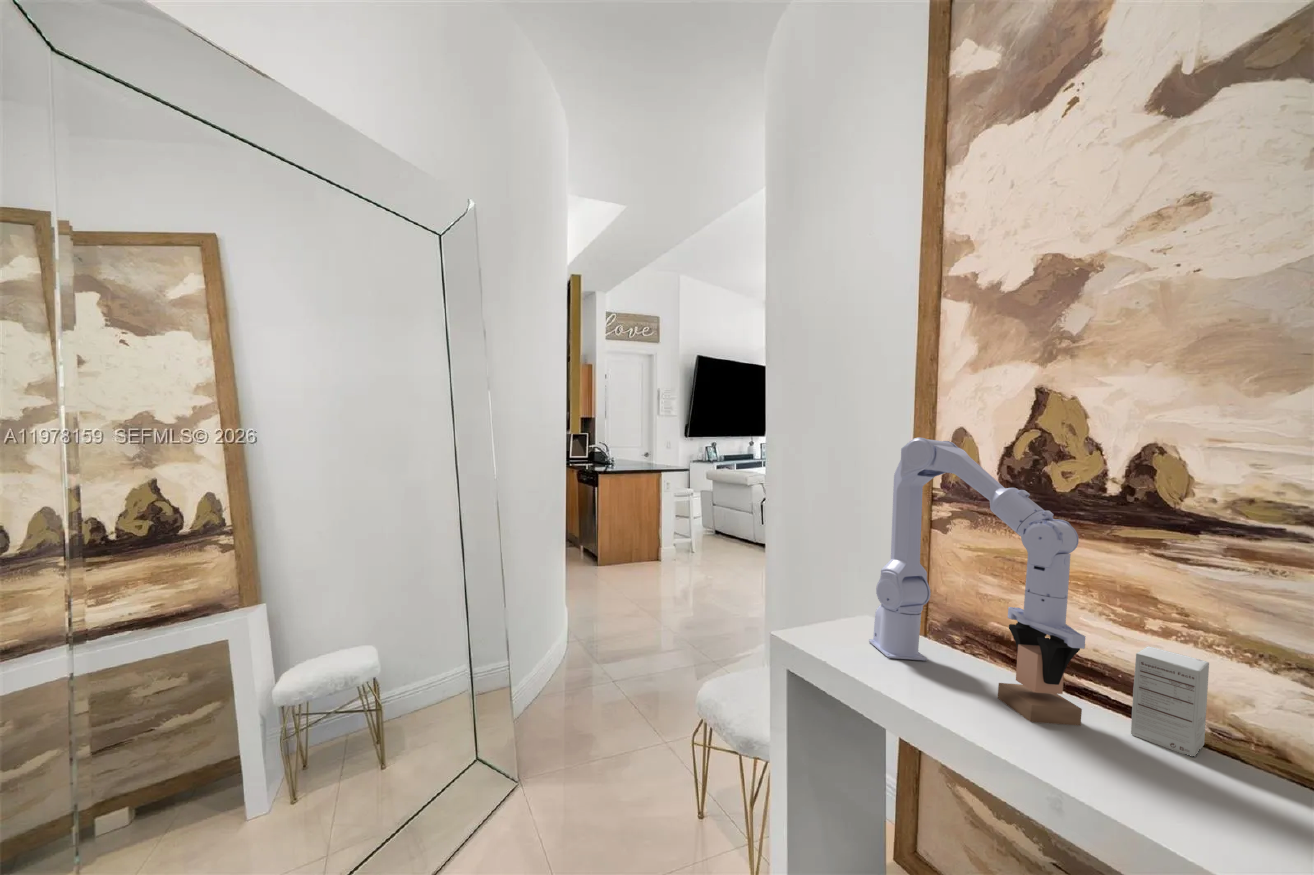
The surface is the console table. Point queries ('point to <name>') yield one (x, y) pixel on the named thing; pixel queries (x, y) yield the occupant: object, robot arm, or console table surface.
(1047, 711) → the walnut block
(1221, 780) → the console table surface
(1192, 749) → the supplement box
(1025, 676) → the cube
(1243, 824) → the console table surface
